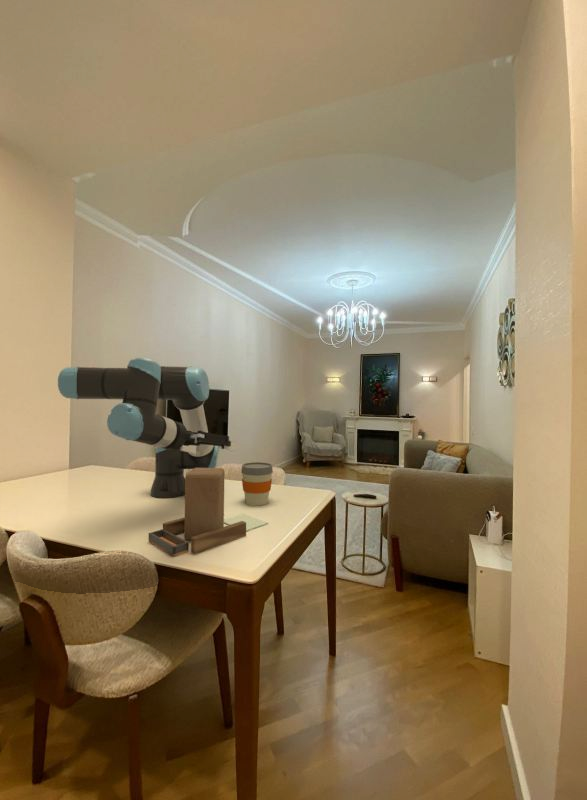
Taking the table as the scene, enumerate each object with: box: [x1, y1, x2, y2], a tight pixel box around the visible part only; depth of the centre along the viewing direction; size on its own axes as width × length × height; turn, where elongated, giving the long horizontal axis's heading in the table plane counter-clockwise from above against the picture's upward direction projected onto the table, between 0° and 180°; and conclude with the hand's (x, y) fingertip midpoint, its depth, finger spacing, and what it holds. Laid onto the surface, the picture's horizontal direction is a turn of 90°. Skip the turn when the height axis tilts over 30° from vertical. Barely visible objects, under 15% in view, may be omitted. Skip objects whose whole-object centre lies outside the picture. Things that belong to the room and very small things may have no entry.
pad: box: [224, 513, 269, 533], centre depth 120 cm, size 13×10×1 cm
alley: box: [162, 516, 247, 555], centre depth 108 cm, size 18×18×4 cm
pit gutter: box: [148, 528, 190, 557], centre depth 100 cm, size 14×4×2 cm, turn 48°
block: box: [183, 467, 225, 542], centre depth 108 cm, size 10×10×20 cm
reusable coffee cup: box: [240, 461, 274, 507], centre depth 143 cm, size 13×13×15 cm
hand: (213, 448), depth 109 cm, fingers open, 13 cm apart
